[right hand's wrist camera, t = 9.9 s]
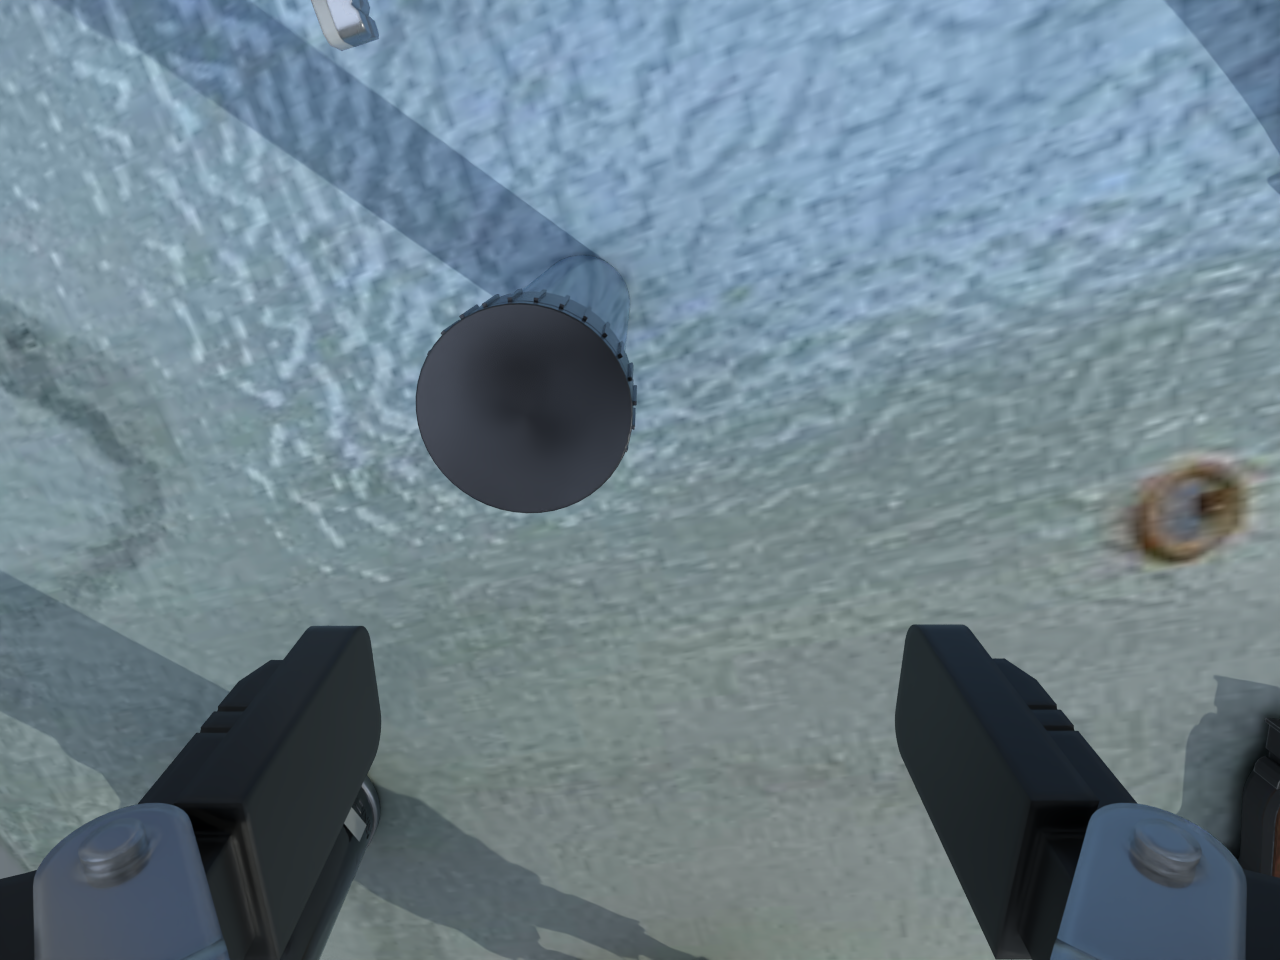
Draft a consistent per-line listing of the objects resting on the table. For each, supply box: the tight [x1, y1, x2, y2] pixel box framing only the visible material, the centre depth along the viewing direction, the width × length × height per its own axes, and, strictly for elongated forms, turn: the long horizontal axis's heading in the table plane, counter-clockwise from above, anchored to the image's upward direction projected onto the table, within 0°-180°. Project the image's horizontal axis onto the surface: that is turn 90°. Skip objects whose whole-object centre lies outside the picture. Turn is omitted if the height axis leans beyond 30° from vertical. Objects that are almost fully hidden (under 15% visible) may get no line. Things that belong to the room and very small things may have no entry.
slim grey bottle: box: [522, 255, 630, 351], centre depth 28 cm, size 4×4×19 cm
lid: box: [416, 289, 637, 513], centre depth 20 cm, size 5×5×2 cm
